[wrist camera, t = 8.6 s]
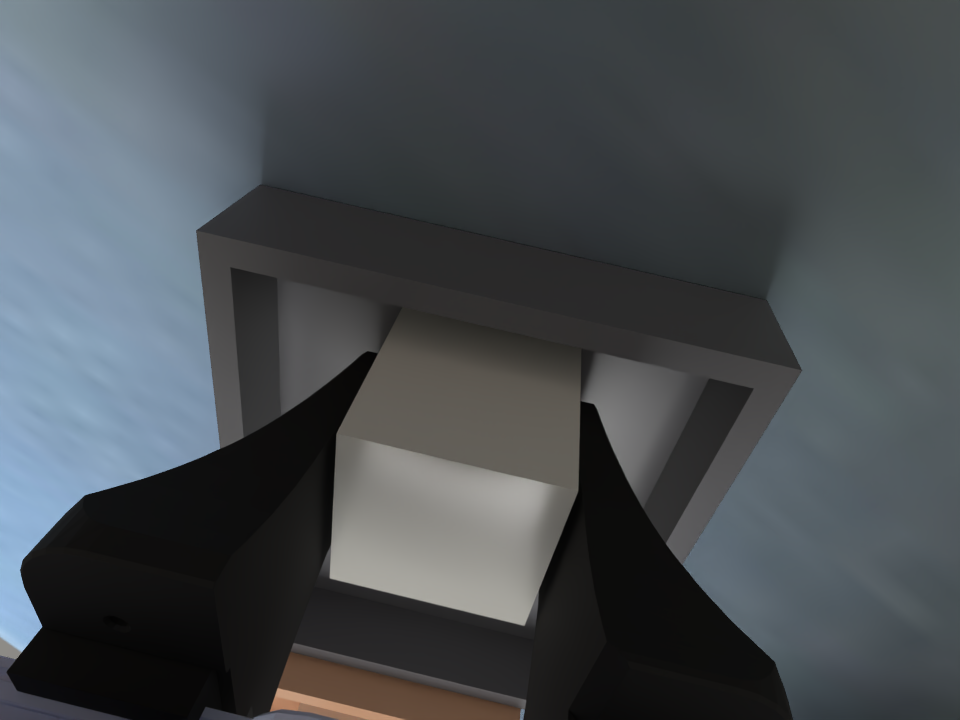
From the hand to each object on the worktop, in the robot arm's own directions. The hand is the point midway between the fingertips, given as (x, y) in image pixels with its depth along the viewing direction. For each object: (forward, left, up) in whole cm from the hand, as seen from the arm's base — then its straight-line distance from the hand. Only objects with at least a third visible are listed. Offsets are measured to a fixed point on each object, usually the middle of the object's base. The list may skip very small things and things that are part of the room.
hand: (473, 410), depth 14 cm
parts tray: (0, +3, -2) cm, 4 cm away
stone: (0, 0, -1) cm, 1 cm away
